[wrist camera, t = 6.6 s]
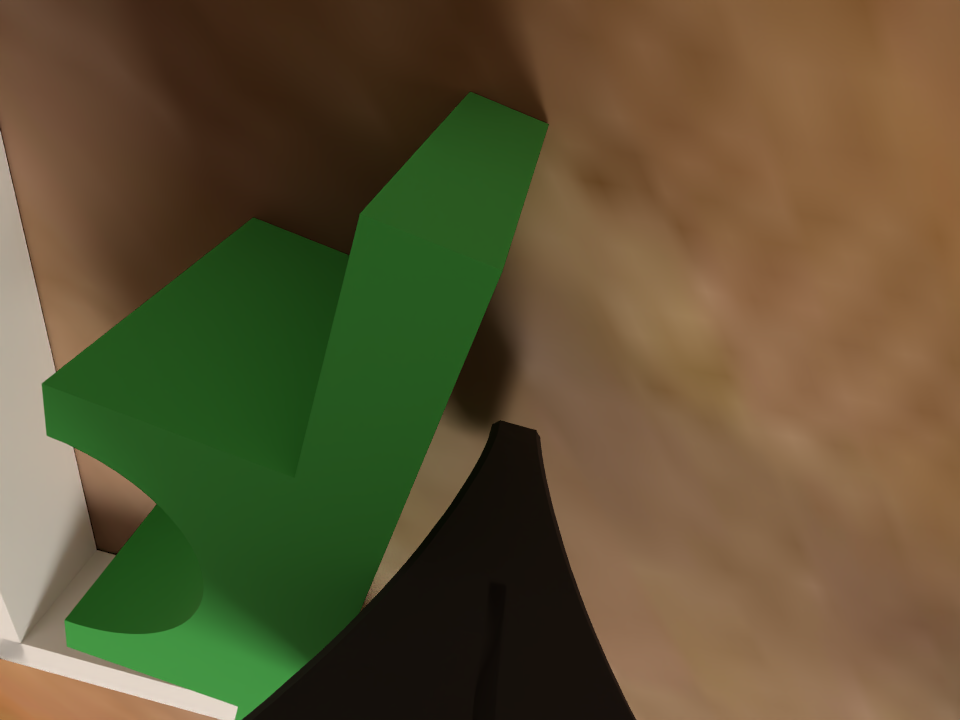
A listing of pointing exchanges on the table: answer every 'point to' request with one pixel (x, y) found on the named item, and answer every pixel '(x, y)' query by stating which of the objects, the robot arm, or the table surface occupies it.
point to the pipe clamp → (287, 415)
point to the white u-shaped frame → (48, 500)
